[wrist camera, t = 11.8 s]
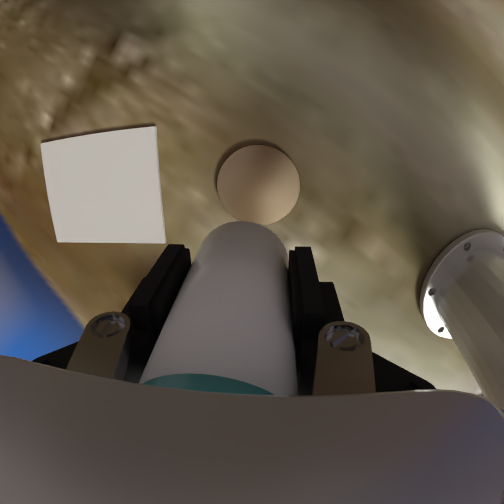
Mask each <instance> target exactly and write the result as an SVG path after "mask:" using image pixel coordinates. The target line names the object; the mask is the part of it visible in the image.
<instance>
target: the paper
mask: <svg viewBox="0 0 504 504" xmlns="http://www.w3.org/2000/svg"><path fill="white" fill-rule="evenodd" d="M41 151H42V159H43V167H44V174H45V181H46V187H47V193H48V199H49V204H50V210H51V215H52V220H53V224H54V229H55V233H56V238H57V242H96V243H166V234H165V225H164V216H163V207H162V196H161V185H160V173H159V160H158V145H157V127H156V126H152V127H142V128H133V129H125V130H117V131H109V132H102V133H95V134H89V135H83V136H77V137H71V138H66V139H60V140H55V141H50V142H45V143H41Z"/></svg>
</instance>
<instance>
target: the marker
mask: <svg viewBox="0 0 504 504" xmlns="http://www.w3.org/2000/svg"><path fill="white" fill-rule="evenodd" d="M288 265H289V262H288V255H287V252H286V249H285V247H284V245H283V243H282V242H281V240H280V239H279V238H278V237H277V235H276V234H274V233H273V232H272V231H271V230H269V229H268V228H266V227H264V226H262V225H260V224H257V223H253V222H248V221H235V222H229V223H226V224H223V225H221V226H219V227H217V228H216V229H214V230H213V231H212V232H210V233H209V234H208V236H207V237H206V238H205V239H204V241H203V242H202V244H201V247H200V249H199V251H198V253H197V255H196V257H195V259H194V261H193V263H192V265H191V267H190V270H189V272H188V274H187V276H186V278H185V280H184V282H183V284H182V287H181V289H180V291H179V293H178V295H177V297H176V300H175V302H174V304H173V306H172V308H171V310H170V313H169V315H168V317H167V319H166V322H165V324H164V326H163V328H162V330H161V333H160V335H159V337H158V340H157V342H156V344H155V346H154V349H153V351H152V353H151V356H150V358H149V360H148V363H147V365H146V367H145V370H144V372H143V374H142V377H141V379H140V381H139V384H146V385H153V386H160V387H168V388H176V389H185V390H195V391H206V392H219V393H234V394H254V395H298V391H297V372H296V356H295V346H294V341H293V329H292V314H291V299H290V286H289V273H288Z"/></svg>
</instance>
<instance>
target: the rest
mask: <svg viewBox="0 0 504 504" xmlns="http://www.w3.org/2000/svg"><path fill="white" fill-rule="evenodd" d="M217 190H218V195H219V198H220V201H221V203H222V204H223V206H224V207H225V209H226V210H227V211H228V212H229V213H230V214H231V215H232V216H233V217H235V218H236V219H238V220H240V221H248V222H253V223H257V224H260V225H265V224H270V223H274V222H276V221H278V220H280V219H282V218H283V217H284V216H286V215H287V214H288V213H289V212H290V211H291V210H292V208H293V207H294V205H295V203H296V202H297V199H298V196H299V191H300V180H299V175H298V172H297V170H296V168H295V166H294V164H293V162H292V161H291V160H290V159H289V158H288V157H287V156H286V155H285V154H284V153H283V152H281V151H280V150H278V149H276V148H273V147H270V146H266V145H251V146H246V147H243V148H241V149H239V150H237V151H236V152H234V153H233V154H232V155H230V156H229V157H228V159H227V160H226V161H225V162H224V164H223V165H222V167H221V169H220V171H219V175H218V180H217Z"/></svg>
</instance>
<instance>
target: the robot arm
mask: <svg viewBox="0 0 504 504" xmlns="http://www.w3.org/2000/svg"><path fill="white" fill-rule="evenodd" d="M190 267H191V257H190V250H189V249H188V248H185V247H184V245H182V244H169V245H168V246H167V247H166V248H165V250H164V251H163V253H162V254H161V256H160V257H159V259H158V260H157V262H156V263H155V265H154V266H153V268H152V269H151V271H150V272H149V274H148V275H147V277H144V278H143V280H142V281H141V283H140V284H139V286H138V287H137V289H136V290H135V292H134V293H133V295H132V296H131V298H130V299H129V301H128V302H127V304H126V305H125V307H124V309H123V310H122V312H114V311H113V312H106V313H102V314H99V315H97V316H95V317H94V318H93V319H91V320H90V321H89V323H88V324H87V325H86V327H85V329H84V332H83V334H82V336H81V338H80V340H79V341H78V342H76V343H74V344H71V345H68V346H66V347H63V348H61V349H59V350H56V351H53V352H51V353H48V354H46V355H43V356H41V357H39V358H36V359H35V360H33V361H28V360H23V359H19V358H15V357H9V356H3V355H0V504H504V236H503V235H502V234H500V233H499V232H496V231H494V230H490V229H480V230H474V231H471V232H469V233H466V234H464V235H462V236H460V237H459V238H457V239H456V240H454V241H453V242H452V243H451V244H449V245H448V246H447V247H446V248H445V249H444V250H443V251H442V252H441V253H440V255H439V256H438V257H437V258H436V260H435V261H434V263H433V264H432V266H431V267H430V269H429V271H428V273H427V275H426V277H425V279H424V282H423V285H422V289H421V294H420V311H421V314H422V318H423V319H424V321H425V323H426V325H427V326H428V328H429V329H430V330H431V331H432V332H433V333H434V334H436V335H438V336H441V337H443V338H452V339H453V340H454V342H455V344H456V345H457V347H458V349H459V351H460V352H461V354H462V356H463V358H464V359H465V361H466V363H467V365H468V366H469V368H470V370H471V372H472V374H473V376H474V377H475V379H476V381H477V383H478V385H479V387H480V389H481V391H482V393H483V395H484V396H485V398H484V397H481V396H479V395H475V394H472V393H466V392H461V391H455V390H440V389H436V388H435V387H434V386H433V385H432V384H431V383H429V382H428V381H426V380H424V379H422V378H420V377H418V376H416V375H414V374H413V373H411V372H409V371H407V370H405V369H403V368H401V367H399V366H398V365H396V364H394V363H392V362H390V361H388V360H386V359H384V358H383V357H381V356H379V355H377V354H375V353H373V352H372V349H371V340H370V337H369V334H368V333H367V331H366V330H365V329H364V328H362V327H361V326H359V325H357V324H354V323H351V322H346V321H344V318H343V314H342V311H341V307H340V304H339V300H338V297H337V294H336V290H335V287H334V284H333V282H319V280H318V275H317V271H316V267H315V263H314V259H313V254H312V250H311V247H295V250H289V265H288V273H289V286H290V299H291V314H292V329H293V341H294V346H295V356H296V372H297V391H298V395H254V394H234V393H219V392H206V391H195V390H185V389H176V388H168V387H160V386H153V385H146V384H139V381H140V379H141V377H142V374H143V372H144V370H145V367H146V365H147V363H148V360H149V358H150V356H151V353H152V351H153V349H154V346H155V344H156V342H157V340H158V337H159V335H160V333H161V330H162V328H163V326H164V324H165V322H166V319H167V317H168V315H169V313H170V310H171V308H172V306H173V304H174V302H175V300H176V297H177V295H178V293H179V291H180V289H181V287H182V284H183V282H184V280H185V278H186V276H187V274H188V272H189V270H190Z"/></svg>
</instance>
